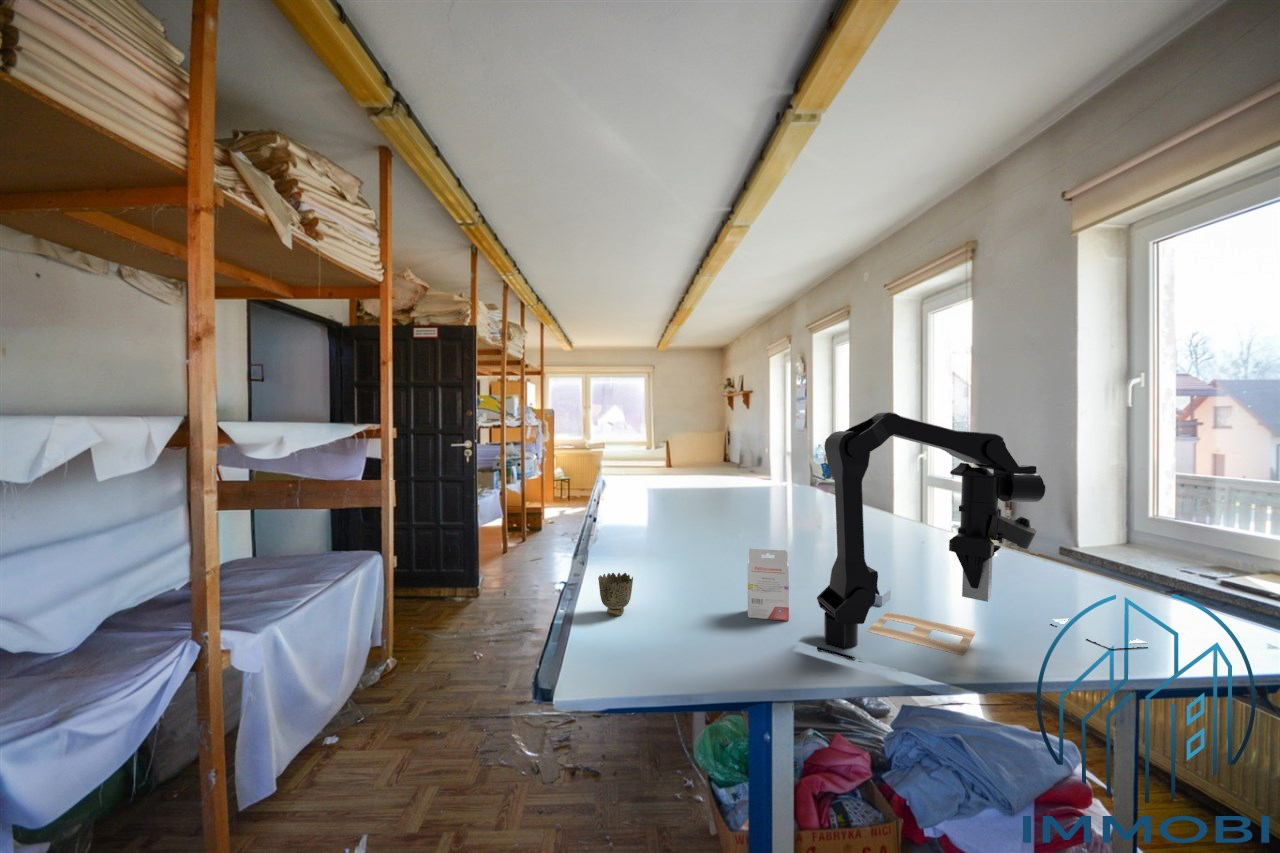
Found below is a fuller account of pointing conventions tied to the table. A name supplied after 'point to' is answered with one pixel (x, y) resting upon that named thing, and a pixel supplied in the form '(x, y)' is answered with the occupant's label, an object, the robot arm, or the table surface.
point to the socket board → (924, 633)
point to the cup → (615, 592)
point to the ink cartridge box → (768, 585)
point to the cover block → (882, 596)
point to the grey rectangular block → (984, 586)
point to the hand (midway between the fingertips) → (976, 585)
